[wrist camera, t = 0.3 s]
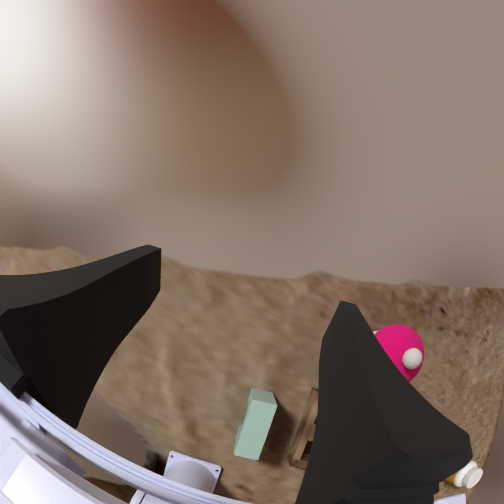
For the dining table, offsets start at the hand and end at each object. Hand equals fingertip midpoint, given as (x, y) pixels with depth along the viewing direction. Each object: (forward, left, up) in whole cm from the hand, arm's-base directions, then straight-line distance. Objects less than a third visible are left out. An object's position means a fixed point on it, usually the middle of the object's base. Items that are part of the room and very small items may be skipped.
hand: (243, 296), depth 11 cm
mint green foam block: (-13, -5, -29) cm, 32 cm away
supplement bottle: (-20, -45, -29) cm, 57 cm away
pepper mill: (-1, -14, -29) cm, 32 cm away
